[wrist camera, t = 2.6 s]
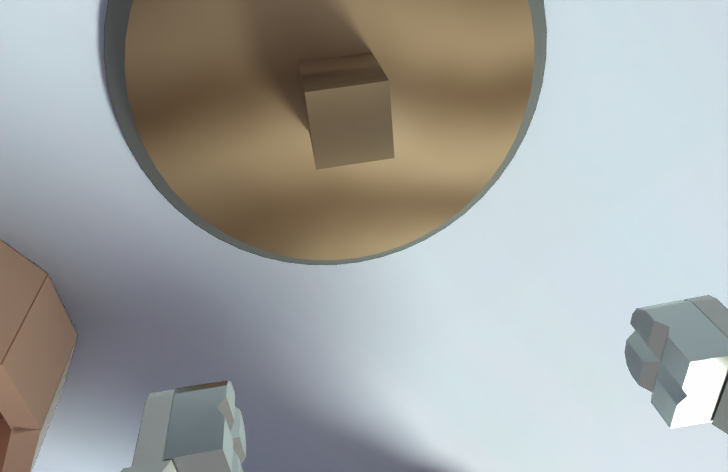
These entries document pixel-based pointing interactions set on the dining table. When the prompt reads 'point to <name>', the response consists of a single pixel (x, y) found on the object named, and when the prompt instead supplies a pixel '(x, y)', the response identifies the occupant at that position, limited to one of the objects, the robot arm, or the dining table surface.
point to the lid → (328, 113)
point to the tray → (117, 87)
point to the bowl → (29, 358)
